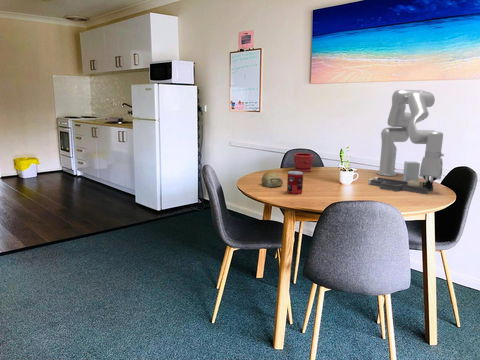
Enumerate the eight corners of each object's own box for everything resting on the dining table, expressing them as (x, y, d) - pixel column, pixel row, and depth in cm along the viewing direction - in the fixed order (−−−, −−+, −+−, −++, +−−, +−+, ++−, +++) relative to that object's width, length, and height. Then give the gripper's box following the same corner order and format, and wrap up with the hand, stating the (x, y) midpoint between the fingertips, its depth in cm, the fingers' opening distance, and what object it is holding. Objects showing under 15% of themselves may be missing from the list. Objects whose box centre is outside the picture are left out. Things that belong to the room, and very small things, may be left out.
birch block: (410, 188, 212) (411, 179, 211) (421, 190, 208) (422, 181, 207) (406, 190, 207) (407, 181, 206) (418, 192, 203) (419, 183, 202)
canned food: (286, 190, 200) (287, 170, 198) (301, 191, 200) (302, 171, 198) (287, 194, 193) (288, 173, 190) (303, 194, 192) (304, 173, 190)
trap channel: (380, 180, 232) (380, 175, 231) (436, 189, 210) (436, 184, 209) (364, 185, 216) (364, 180, 215) (422, 195, 194) (423, 190, 194)
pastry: (267, 182, 223) (267, 168, 221) (286, 184, 217) (287, 171, 215) (256, 186, 211) (256, 172, 209) (276, 189, 205) (277, 174, 203)
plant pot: (291, 169, 266) (292, 152, 264) (309, 169, 268) (310, 152, 265) (295, 172, 253) (296, 155, 251) (314, 172, 255) (315, 155, 252)
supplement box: (418, 184, 223) (420, 163, 220) (404, 183, 224) (407, 162, 222) (414, 181, 230) (417, 161, 227) (402, 181, 231) (404, 161, 229)
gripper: (450, 155, 196) (445, 189, 200) (420, 153, 206) (416, 185, 210) (446, 157, 191) (441, 192, 195) (415, 154, 201) (411, 187, 205)
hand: (428, 188), depth 202 cm, fingers closed
